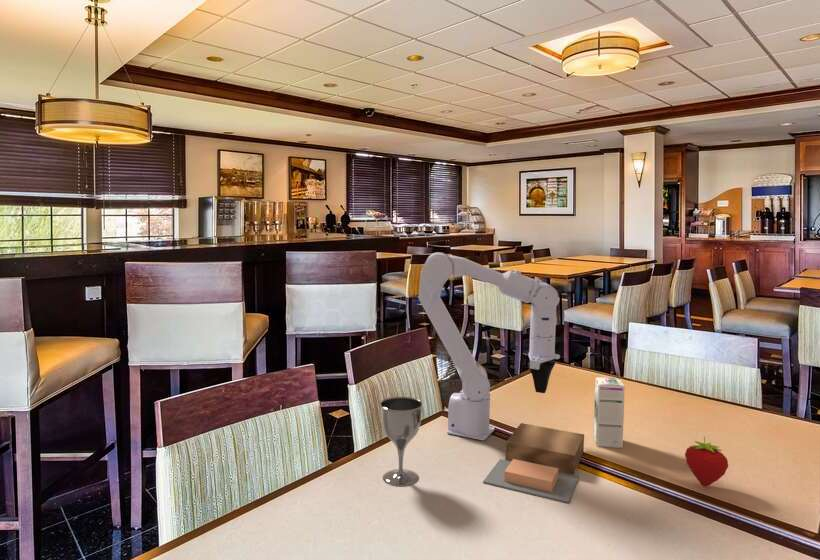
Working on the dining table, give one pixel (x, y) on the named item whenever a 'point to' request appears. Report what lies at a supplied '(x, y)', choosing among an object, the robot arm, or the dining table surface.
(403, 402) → the wine glass
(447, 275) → the robot arm
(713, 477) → the strawberry
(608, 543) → the dining table surface
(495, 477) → the mat
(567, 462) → the brown box
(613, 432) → the syrup box
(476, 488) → the dining table surface
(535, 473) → the peach rectangular box
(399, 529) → the dining table surface
